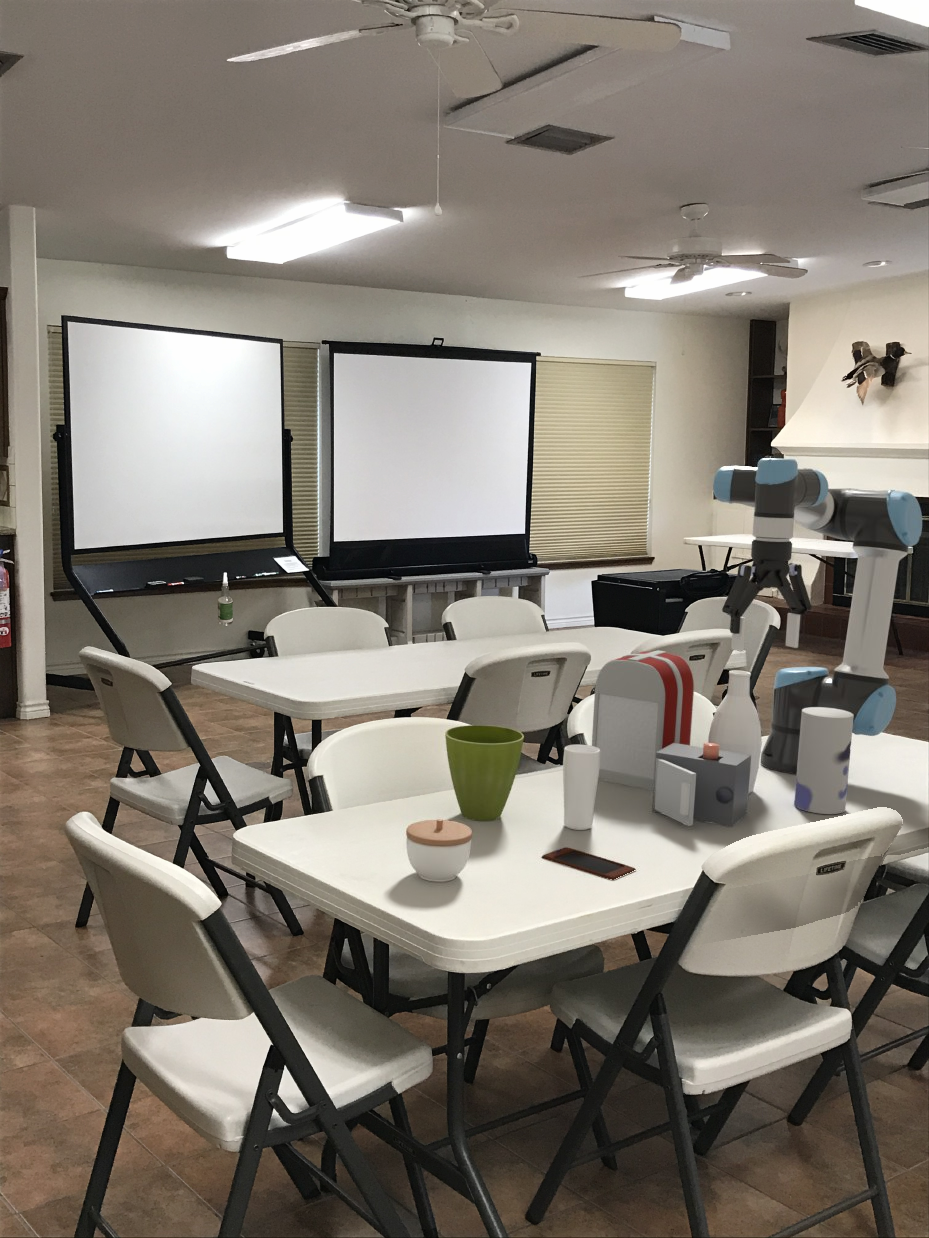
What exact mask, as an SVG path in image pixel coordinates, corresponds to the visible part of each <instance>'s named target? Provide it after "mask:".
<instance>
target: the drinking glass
mask: <svg viewBox="0 0 929 1238" xmlns="http://www.w3.org/2000/svg"><path fill="white" fill-rule="evenodd" d="M563 749H564V750H563V751H564V752H563V759H562V760H563V761H562V781H563V825H564V826H565V827H566V828H567V829H570V830H574V831H587V830H589V829H591V828H592V827H593V820H594V812H595V803H596V796H597V790H598V783H599V782H598V781H599V780H598V777H599V769H600V749H599V748H597V747H594V746H592V745H589V744H588V745H586V744H569V745H566V746H565V747H564V748H563Z"/></svg>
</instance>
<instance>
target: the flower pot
mask: <svg viewBox="0 0 929 1238" xmlns="http://www.w3.org/2000/svg"><path fill="white" fill-rule="evenodd" d="M444 737H445V745H446V746H445V747H446V756H447V761H448V768H449V772H450V777H451V782H452V783H451V784H452V787H453V790H454V794H455V796H456V801H457V804H458V807H459V810H460V813H461V815H462V817H464V818H465V819H467V820H471V821H475V822H477V821H478V822H488V821H489V822H490V821H495V820H498V819H499V818H500V817H501V816H502V814H503V811H504V808H505V806H506V804H507V802H508V799H509V796H510V793H511V791H512V789H513V788H512V787H513V785H514V782H515V779H516V775H517V772H518V769H519V764H520V759H521V756H522V755H521V754H522V749H523V743H524V740H525V739H524V738H525V736H524V734H523V733H522V732H521V731H519V730H517V729H512V728H509V727H504V726H498V725H497V726H496V725H487V724H486V725H485V724H484V725H483V724H473V725H472V724H471V725H469V724H468V725H461V726H455V727H451V728H449V729H447V730H446V731H445V735H444Z"/></svg>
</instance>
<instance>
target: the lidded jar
mask: <svg viewBox="0 0 929 1238" xmlns="http://www.w3.org/2000/svg"><path fill="white" fill-rule="evenodd" d="M405 831H406V833H405V834H406V853H407V857H408V861H409V863H410V865H411V867H412V868H413V869H414V871H415V872H416V873H417V874H418V876H419V878H420V879H422V880H424V881H428V882H432V883H433V882H434V883H445V882H451V881H453V880H455V879H456V878H457V876H458V875H459V874H461V872H462V871H463V870H464V869H465V867H466V866H467V863H468V861H469V858H470V855H471V854H470V853H471V850H472V849H471V847H472V839H473V831H472V828H471V827H469V826H468V825H466V824H464V823H460V822H457V821H452V820H444V819H441V818H436V819H427V820H421V821H417V822H413V823H411V824H410V825H408V826H407V827H406V830H405Z"/></svg>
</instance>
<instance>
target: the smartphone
mask: <svg viewBox="0 0 929 1238" xmlns="http://www.w3.org/2000/svg"><path fill="white" fill-rule="evenodd" d="M541 858H542V859H544V860H547V861H550V862H552V863H553V862H554V863H556V864H559V865H563V866H565V867H569V868H572V869H576V870H578V871H581V872H583V873H588V874H591V875H594V876H597V877H600V876H601V878H603V877H604V879H606V878H608V879H607V880H610V879H612V880H611V881H615V880H614V879H616V878H618V877H620V876H623V875H625V874H627V873H630V872H632V871H634V870H636V871H637V869H636V868H635V867H634V866H630V865H628V864H627V865H626V864H625V863H624V864H623V863H621V862H617V861H614V860H611V859H608V858H604V857H601V856H598V855H595V854H591V853H587V852H585V851H582V850H578V849H575V848H572V847H571V848H570V847H569V846H564V847H561V848H558V849H556V850H554V851H553V850H552V851H550V852H547V853H544V854H543V855H542V856H541ZM630 874H631V873H630ZM623 877H624V876H623ZM618 879H619V878H618ZM616 880H617V879H616Z"/></svg>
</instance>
